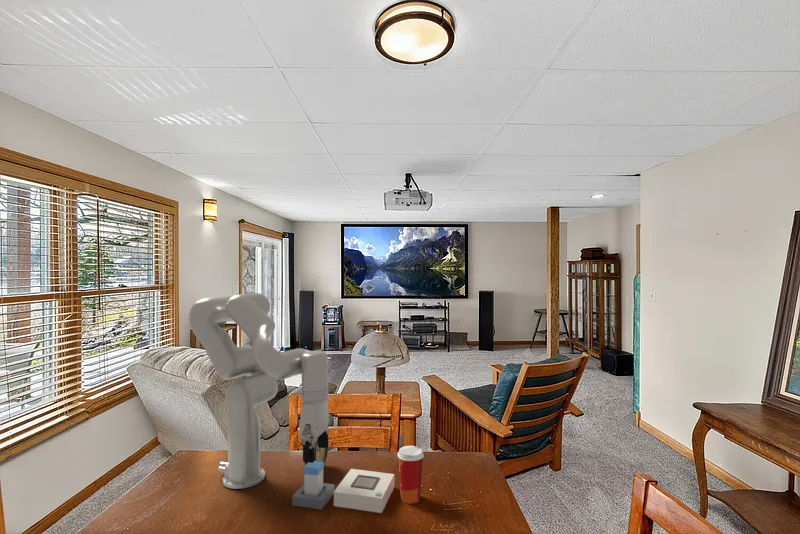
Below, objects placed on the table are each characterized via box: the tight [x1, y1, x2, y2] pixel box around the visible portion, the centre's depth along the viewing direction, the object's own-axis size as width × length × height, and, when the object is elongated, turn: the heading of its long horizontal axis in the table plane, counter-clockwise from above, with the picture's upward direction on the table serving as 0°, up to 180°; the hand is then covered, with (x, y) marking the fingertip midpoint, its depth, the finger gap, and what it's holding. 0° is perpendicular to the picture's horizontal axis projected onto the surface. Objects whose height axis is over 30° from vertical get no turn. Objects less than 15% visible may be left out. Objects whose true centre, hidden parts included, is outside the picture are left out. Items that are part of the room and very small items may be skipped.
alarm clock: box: [303, 435, 329, 466], centre depth 139 cm, size 11×5×16 cm, turn 168°
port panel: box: [333, 468, 395, 514], centre depth 124 cm, size 14×14×4 cm
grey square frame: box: [291, 482, 335, 511], centre depth 122 cm, size 9×9×2 cm
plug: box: [303, 461, 325, 497], centre depth 122 cm, size 4×4×10 cm
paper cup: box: [396, 445, 425, 505], centre depth 123 cm, size 8×8×14 cm
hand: (316, 454), depth 122 cm, fingers open, 9 cm apart
